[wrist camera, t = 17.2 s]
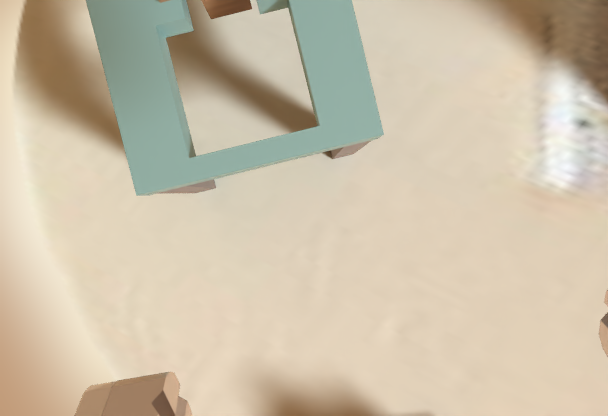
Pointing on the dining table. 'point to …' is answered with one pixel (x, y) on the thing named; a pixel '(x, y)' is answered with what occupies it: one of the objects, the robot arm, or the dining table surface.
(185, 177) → the keyhole shelf
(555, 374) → the dining table surface
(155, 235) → the dining table surface
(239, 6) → the walnut peg
